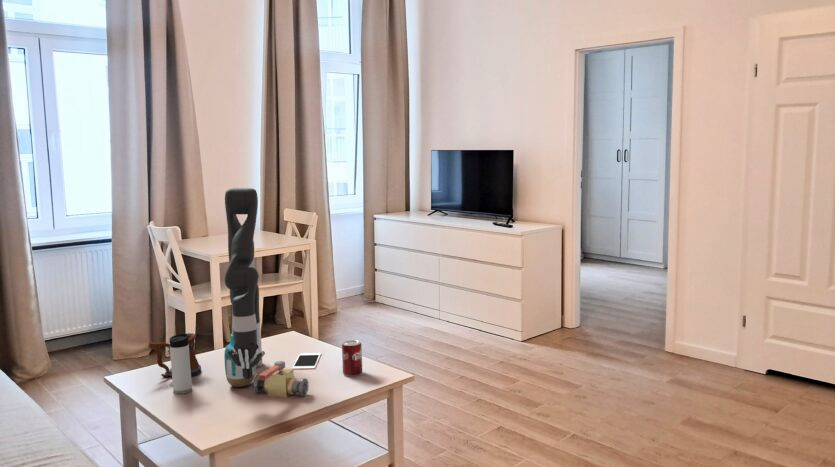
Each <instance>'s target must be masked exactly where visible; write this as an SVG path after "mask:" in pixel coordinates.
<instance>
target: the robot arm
mask: <svg viewBox="0 0 835 467" xmlns="http://www.w3.org/2000/svg"><path fill="white" fill-rule="evenodd" d="M258 199H259V198H258V192H257V190H256V189H255V188H250V187H249V188H248V187H246V188H245V187H244V188H243V187H236V188H235V187H231V188H227V189H226V191H225V194H224V208H225V213H226V214H225V215H226V223H227V243H228V244H227V248H228V249H227V251H228V252H227V253H228V254H227V255H228V262H229V264H228V266H227V269H226V272H225V275H224V285H225V286H226V288H228V290H229V300H230V301H229V302H230V303H231V305H232V308H231V309H232V333H233V337H234V343H235V344H234V348H233V349H232V350H230V351H228V354H229V355H230V357H231V358H232V359H233V361H234V362H235V364H236V365H237V366H241V367H242V371H243V377H244V379H250V378H251V377H252V375H253V373H252V367H254V366H255V369H256V368H259V367H261V366H263V357H264V355H265V354H266V352H265V351H264V350H263V351H262V336H261V335H262V333H261V332H262V331H261V329H262V328H261V317H260V316H261V315H260V288H259V284H258V283H259V278H260V277H259V272H258V270H257V269H256V268H255V267H252V266H251V265H252V263H253V261H254V259H255V242H254V235H255V230H256V222H257V216H258V207H259V204H258V203H259V200H258ZM237 215H247V216H246V218H245V220H244V222H243V224H241V223H240V221H239V219H238V216H237ZM250 266H251V267H250ZM254 355H255V359H254ZM253 359H254V361H253Z"/></svg>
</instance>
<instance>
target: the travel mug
mask: <svg viewBox="0 0 835 467" xmlns="http://www.w3.org/2000/svg"><path fill="white" fill-rule="evenodd" d="M169 344H170V354H169V356H170V355H171V356H170V369H171V368H172V376H171V378H172V380H171V381H172V391H173V393H174V394H181V395H182V394H186V393H187V394H188V393H189V392H191V391H192V389H193V385H192V376H191V369H190V356H189V344H188V335H187V333H179V334H176V335H173V336H171V337H170V338H169Z"/></svg>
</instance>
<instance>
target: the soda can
mask: <svg viewBox="0 0 835 467" xmlns="http://www.w3.org/2000/svg"><path fill="white" fill-rule="evenodd" d="M362 345H363V344H362V342H361V341H359V340H356V339H349V340H345V341H343V342H342V344H341V354H342V356H341V357H342V360H341V361H342V373H343V375H344V376H345V377H352V378H353V377H358V376H360V375H362V374H363V350H362Z"/></svg>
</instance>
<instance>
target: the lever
mask: <svg viewBox="0 0 835 467" xmlns="http://www.w3.org/2000/svg"><path fill="white" fill-rule="evenodd" d="M279 369H286V362H285V361H282V360H281V361H275V362H274V365H272V366H271V367H269V368H267V370H263V371H262V372H261V373H259V374H257V375H258V377H259V379H261V380H266V379H268V378H269V377H271V376H272V374H273V373H275V372H276V371H278V370H279Z"/></svg>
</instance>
